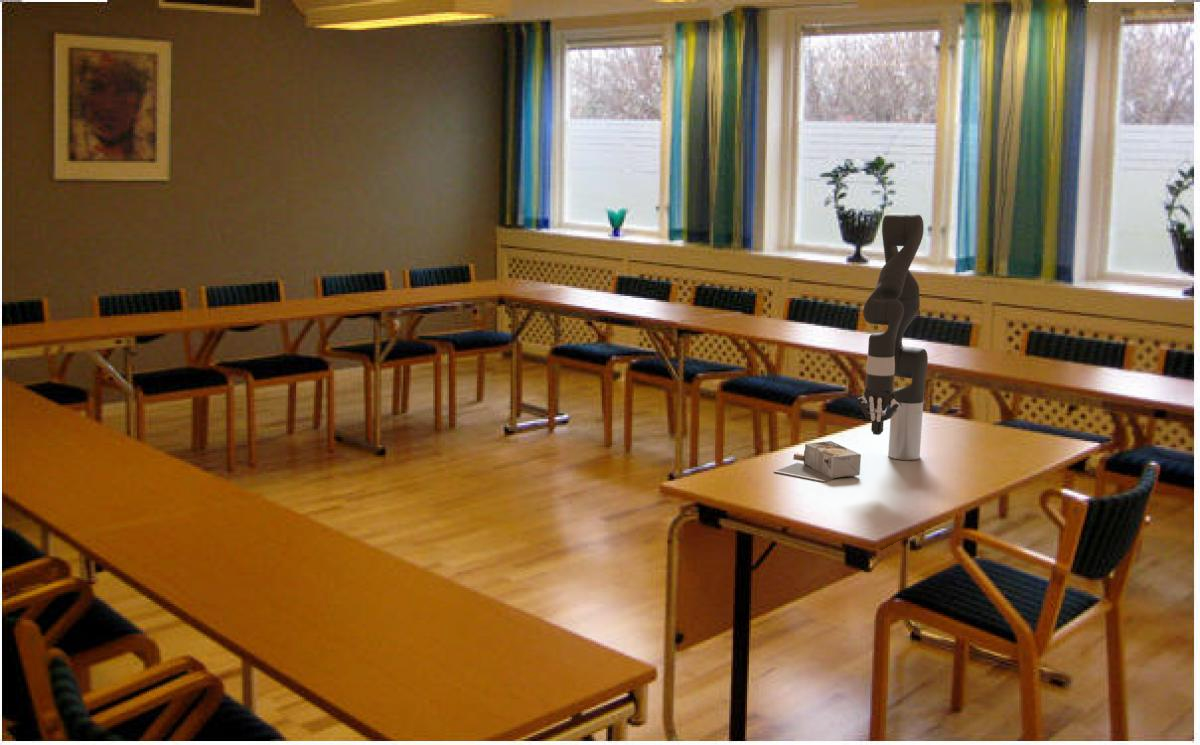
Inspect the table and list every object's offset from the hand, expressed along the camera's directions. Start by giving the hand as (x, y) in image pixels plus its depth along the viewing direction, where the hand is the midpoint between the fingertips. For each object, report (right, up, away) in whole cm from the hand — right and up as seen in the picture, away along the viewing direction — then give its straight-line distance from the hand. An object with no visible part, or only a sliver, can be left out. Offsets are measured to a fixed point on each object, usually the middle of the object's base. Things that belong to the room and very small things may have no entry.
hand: (876, 434), depth 370 cm
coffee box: (-7, -9, +8) cm, 14 cm away
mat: (-16, -12, +14) cm, 24 cm away
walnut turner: (-11, -10, +27) cm, 30 cm away
